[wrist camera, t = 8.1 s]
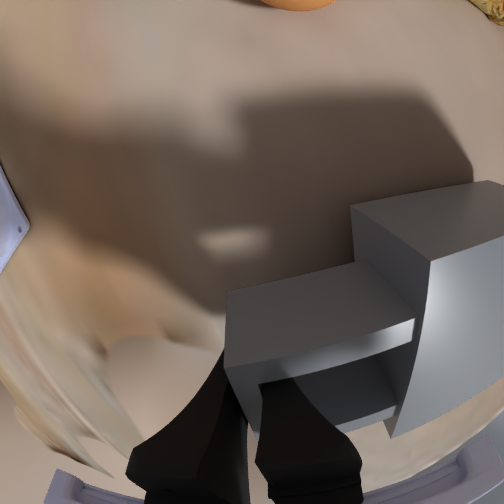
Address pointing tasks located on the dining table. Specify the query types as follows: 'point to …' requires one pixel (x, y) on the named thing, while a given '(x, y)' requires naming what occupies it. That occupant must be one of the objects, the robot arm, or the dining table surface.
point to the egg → (298, 4)
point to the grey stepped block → (383, 315)
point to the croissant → (492, 9)
